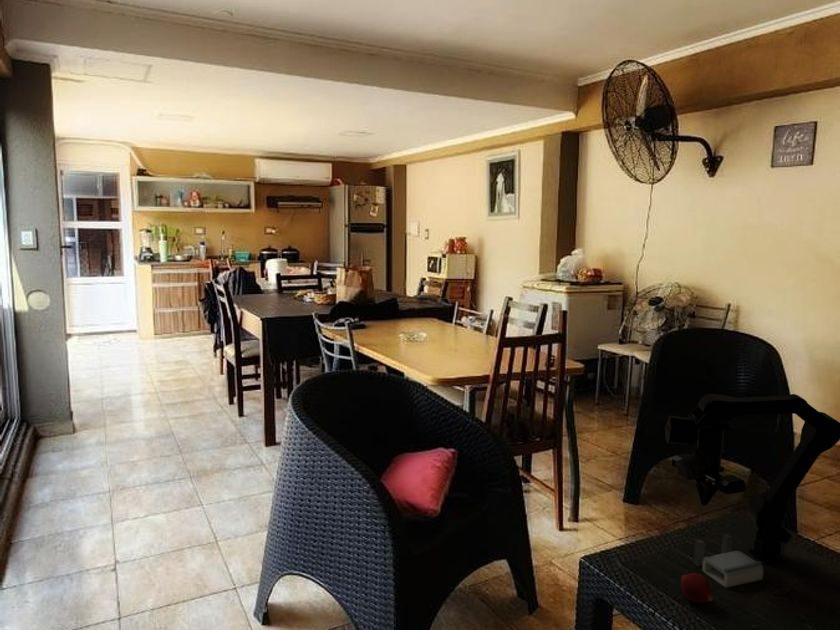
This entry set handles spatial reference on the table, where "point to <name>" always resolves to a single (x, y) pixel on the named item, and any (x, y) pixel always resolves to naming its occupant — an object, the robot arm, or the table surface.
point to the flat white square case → (717, 574)
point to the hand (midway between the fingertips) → (704, 504)
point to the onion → (696, 588)
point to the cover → (733, 563)
